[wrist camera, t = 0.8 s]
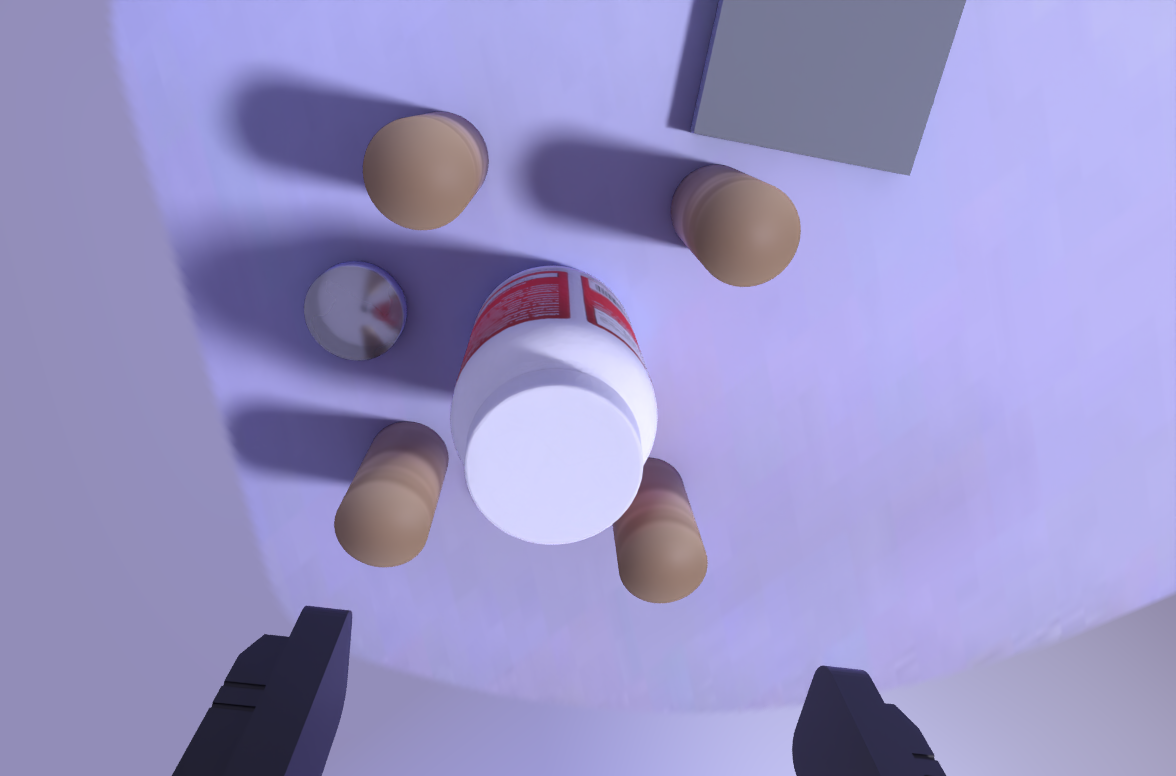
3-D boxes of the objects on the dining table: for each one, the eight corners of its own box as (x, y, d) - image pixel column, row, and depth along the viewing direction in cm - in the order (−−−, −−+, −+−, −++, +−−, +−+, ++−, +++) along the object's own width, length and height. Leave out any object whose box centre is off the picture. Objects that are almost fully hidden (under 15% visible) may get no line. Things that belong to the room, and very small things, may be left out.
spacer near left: (403, 103, 27) (367, 106, 22) (494, 121, 27) (480, 128, 22) (394, 196, 28) (358, 219, 23) (482, 212, 28) (466, 238, 23)
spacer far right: (616, 452, 32) (628, 521, 27) (691, 463, 32) (716, 534, 27) (601, 518, 33) (610, 597, 28) (674, 529, 34) (696, 608, 28)
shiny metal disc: (316, 251, 29) (306, 258, 28) (413, 268, 29) (407, 275, 28) (310, 342, 30) (301, 352, 29) (403, 357, 30) (398, 367, 29)
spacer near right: (681, 157, 28) (710, 172, 23) (766, 173, 28) (813, 192, 23) (662, 244, 29) (685, 277, 24) (744, 258, 29) (784, 295, 24)
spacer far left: (373, 416, 31) (337, 480, 26) (452, 428, 31) (433, 494, 26) (366, 485, 32) (331, 560, 27) (443, 496, 32) (422, 572, 27)
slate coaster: (746, -126, 25) (752, -133, 24) (978, -72, 26) (990, -77, 25) (690, 131, 28) (693, 133, 27) (900, 173, 28) (909, 175, 28)
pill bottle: (457, 389, 31) (408, 540, 20) (496, 241, 29) (464, 327, 18) (605, 428, 32) (630, 592, 21) (653, 288, 30) (706, 394, 19)
